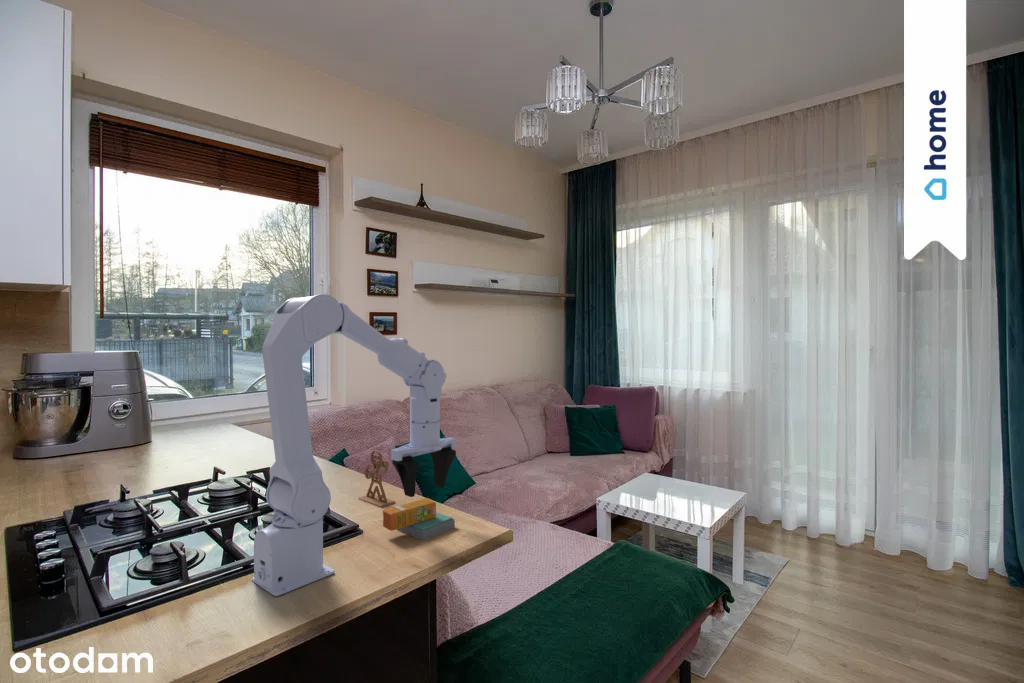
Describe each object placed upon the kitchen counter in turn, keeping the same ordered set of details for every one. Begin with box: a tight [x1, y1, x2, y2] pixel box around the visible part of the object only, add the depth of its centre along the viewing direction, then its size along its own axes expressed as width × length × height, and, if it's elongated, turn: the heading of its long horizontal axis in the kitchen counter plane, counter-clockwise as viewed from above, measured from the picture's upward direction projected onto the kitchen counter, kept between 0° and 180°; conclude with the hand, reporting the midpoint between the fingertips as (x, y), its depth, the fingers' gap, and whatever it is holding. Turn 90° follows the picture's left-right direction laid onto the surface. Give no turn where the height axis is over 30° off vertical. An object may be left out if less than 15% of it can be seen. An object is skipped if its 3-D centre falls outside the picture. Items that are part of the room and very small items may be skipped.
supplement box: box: [382, 497, 437, 532], centre depth 95 cm, size 3×3×10 cm
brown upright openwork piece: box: [358, 449, 396, 509], centre depth 112 cm, size 9×4×12 cm, turn 51°
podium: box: [396, 511, 456, 541], centre depth 97 cm, size 8×8×2 cm
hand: (425, 490), depth 97 cm, fingers open, 7 cm apart
